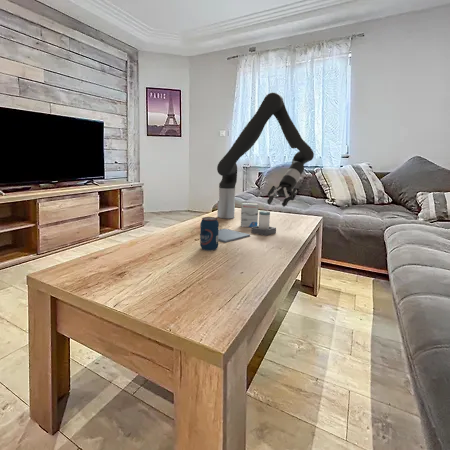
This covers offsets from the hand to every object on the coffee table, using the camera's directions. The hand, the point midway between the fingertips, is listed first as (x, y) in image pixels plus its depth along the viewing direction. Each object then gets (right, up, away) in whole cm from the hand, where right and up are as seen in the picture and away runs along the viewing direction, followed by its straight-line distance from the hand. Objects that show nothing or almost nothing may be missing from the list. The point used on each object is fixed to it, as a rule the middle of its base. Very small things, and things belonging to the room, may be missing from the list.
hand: (275, 204), depth 152 cm
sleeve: (-6, -14, -3) cm, 15 cm away
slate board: (-25, -15, -10) cm, 31 cm away
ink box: (-12, -11, +11) cm, 19 cm away
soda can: (-31, -19, -31) cm, 47 cm away
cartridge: (-6, -14, -3) cm, 15 cm away
